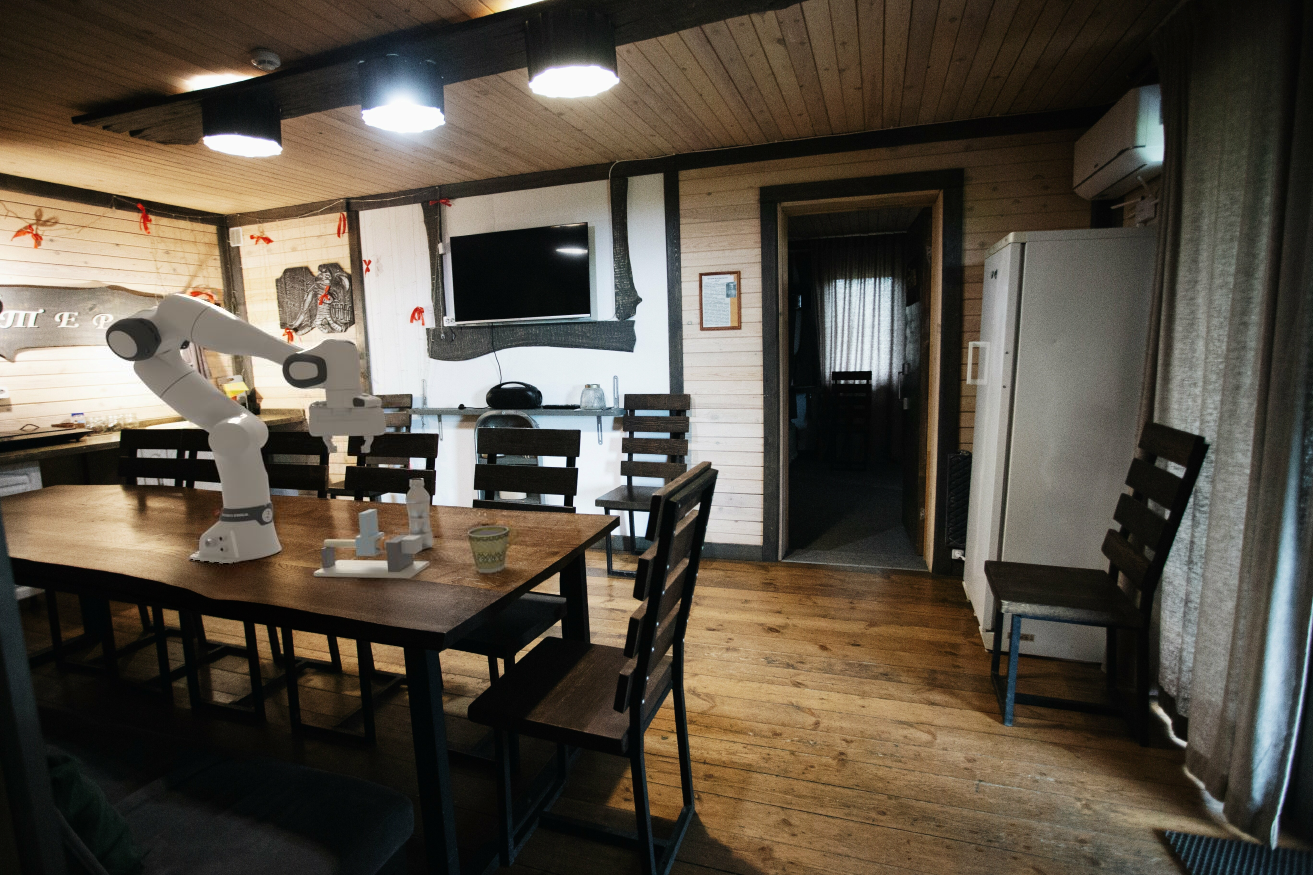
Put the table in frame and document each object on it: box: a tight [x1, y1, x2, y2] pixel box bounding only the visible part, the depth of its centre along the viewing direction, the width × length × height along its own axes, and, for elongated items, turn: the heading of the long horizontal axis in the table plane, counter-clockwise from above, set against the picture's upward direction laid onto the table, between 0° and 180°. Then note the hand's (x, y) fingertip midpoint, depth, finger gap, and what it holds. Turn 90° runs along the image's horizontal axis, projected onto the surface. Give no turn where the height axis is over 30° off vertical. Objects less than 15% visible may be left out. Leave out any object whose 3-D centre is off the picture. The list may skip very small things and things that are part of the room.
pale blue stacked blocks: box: [354, 508, 385, 557], centre depth 162 cm, size 5×5×11 cm
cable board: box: [313, 534, 430, 579], centre depth 163 cm, size 26×10×9 cm, turn 82°
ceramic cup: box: [467, 525, 520, 574], centre depth 162 cm, size 13×10×10 cm
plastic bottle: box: [405, 477, 434, 551], centre depth 180 cm, size 6×7×20 cm
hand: (349, 452), depth 170 cm, fingers open, 8 cm apart
